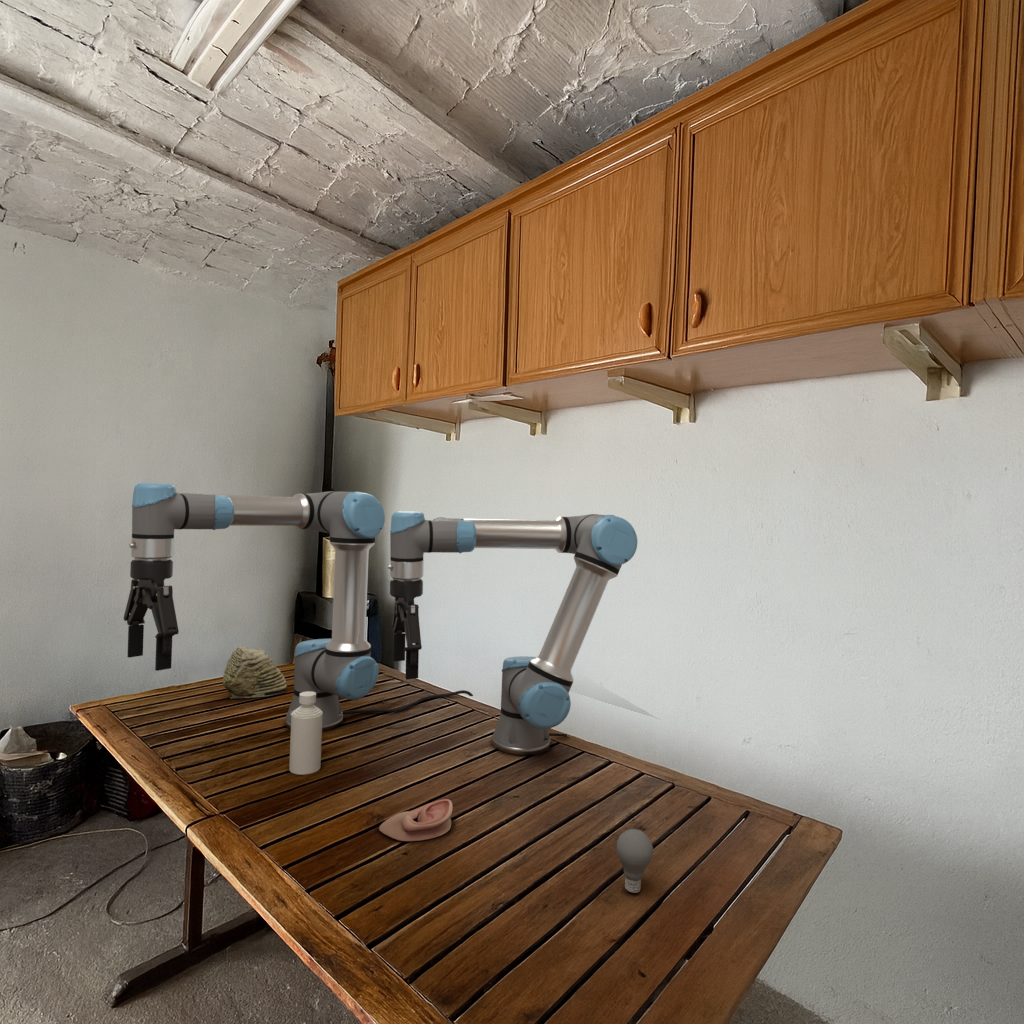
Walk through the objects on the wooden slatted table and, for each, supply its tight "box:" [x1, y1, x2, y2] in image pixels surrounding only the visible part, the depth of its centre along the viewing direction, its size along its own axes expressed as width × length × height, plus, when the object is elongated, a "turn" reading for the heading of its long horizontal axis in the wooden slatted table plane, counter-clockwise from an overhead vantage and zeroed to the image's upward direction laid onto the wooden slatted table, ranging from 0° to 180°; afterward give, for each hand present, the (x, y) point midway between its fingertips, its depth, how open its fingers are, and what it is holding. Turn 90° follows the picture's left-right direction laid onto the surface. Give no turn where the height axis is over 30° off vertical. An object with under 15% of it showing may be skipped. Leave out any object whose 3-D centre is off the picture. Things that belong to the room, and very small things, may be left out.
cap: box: [299, 691, 316, 704], centre depth 147 cm, size 4×4×2 cm
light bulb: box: [615, 828, 654, 894], centre depth 106 cm, size 6×6×10 cm
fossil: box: [222, 646, 288, 699], centre depth 198 cm, size 9×18×15 cm, turn 132°
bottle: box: [288, 704, 323, 776], centre depth 147 cm, size 7×7×17 cm
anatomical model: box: [378, 798, 454, 842], centre depth 123 cm, size 13×4×12 cm
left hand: (148, 662), depth 129 cm, fingers open, 13 cm apart
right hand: (405, 669), depth 147 cm, fingers open, 13 cm apart
